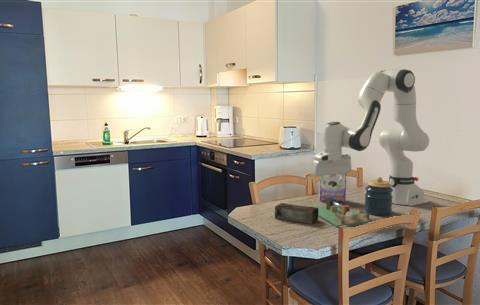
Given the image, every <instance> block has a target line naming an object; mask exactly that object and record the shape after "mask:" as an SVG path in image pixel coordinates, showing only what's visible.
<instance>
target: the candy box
mask: <svg viewBox="0 0 480 305" xmlns="http://www.w3.org/2000/svg"><path fill="white" fill-rule="evenodd" d="M340 176H341V175H340V174H333V175H324V177H323V180H325V181H326V182H325V184H321V180H320V179H319V202H325V198H328V197H331V198H333V199H335V200H336V202H337V203H346V191H347V187H346V186H347V173H345V176H344V177H343V179H342V182H340V183H339V182H338V178H340Z"/></svg>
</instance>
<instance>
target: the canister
mask: <svg viewBox="0 0 480 305" xmlns="http://www.w3.org/2000/svg"><path fill="white" fill-rule="evenodd" d="M366 184H367V186H365V187H364V189H365V194H364V206H363V208H364V209H363V210H364V211H365V212H367V213H369V215H373V216H382V217H384V216H390V215H391V214H392V211H393V207H392V206H393V203H392V198H393V196H392V191H393V189H392V188H391V186H392V185H391V184H390V183H389V181H387V180H383V178H382V177H380V176H378V177H377V178H376V179H372V180H370V181H368V182H367V183H366Z"/></svg>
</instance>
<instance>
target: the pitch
mask: <svg viewBox="0 0 480 305" xmlns="http://www.w3.org/2000/svg"><path fill="white" fill-rule="evenodd" d="M309 207H315V208H318V209H319V210H318V219H321V220H323V221H325V222H326V223H328V224H329V225H331V226H333V227H335V228H340V227H339V226H342V225H348V226H347V227H353V226H361V224H363V225H366V224H365V223H368V222H372V221H375V222H376V220H374V219H373V218H371V217H369V221H367V222H358V223H349V224H341V223H339V222H337V221H335V213H339V214H342V209H340V208H338V207H336V206H329V205H327V204H325V203H324V205H323V204H322V205H314V206H313V205H312V206H311V205H310V206H309ZM350 212H352V213H353V215H355V214H359V212H357V211H355V210H353V209H351V208H350Z"/></svg>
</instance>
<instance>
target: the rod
mask: <svg viewBox="0 0 480 305" xmlns="http://www.w3.org/2000/svg"><path fill="white" fill-rule="evenodd" d="M325 204H327V205H329V206H336V207H338V208H340V209H342V214H341V215H343V216H345V214H346V213H347V212H350V209H351V206H350V205H348V204H345V205H343V204H341V203H340V202H336V200H335V199H333V198H331V197H328V198H325V201H324V205H325Z"/></svg>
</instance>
